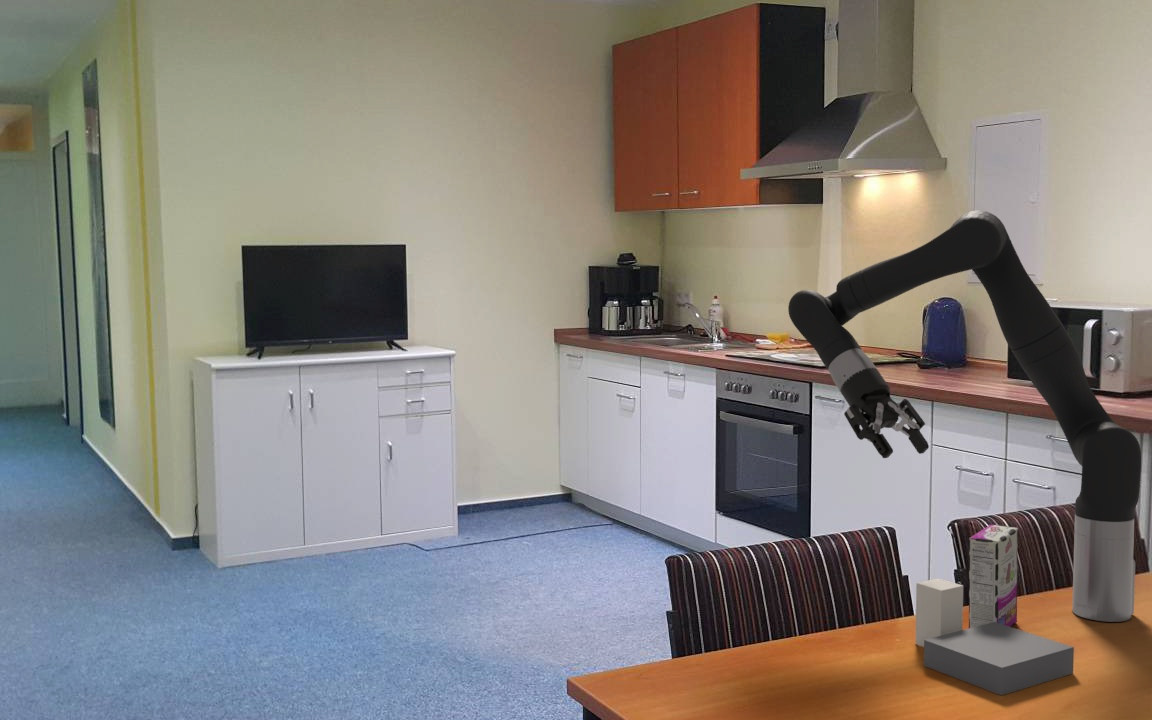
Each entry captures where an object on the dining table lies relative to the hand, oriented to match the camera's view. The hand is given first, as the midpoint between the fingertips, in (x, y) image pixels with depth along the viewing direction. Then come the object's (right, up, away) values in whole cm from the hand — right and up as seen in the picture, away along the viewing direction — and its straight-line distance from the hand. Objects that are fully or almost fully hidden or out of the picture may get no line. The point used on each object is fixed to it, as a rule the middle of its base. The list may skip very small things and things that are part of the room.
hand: (907, 453), depth 190 cm
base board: (+7, -30, -22) cm, 38 cm away
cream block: (+2, -30, -12) cm, 32 cm away
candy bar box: (+13, -29, -3) cm, 32 cm away
